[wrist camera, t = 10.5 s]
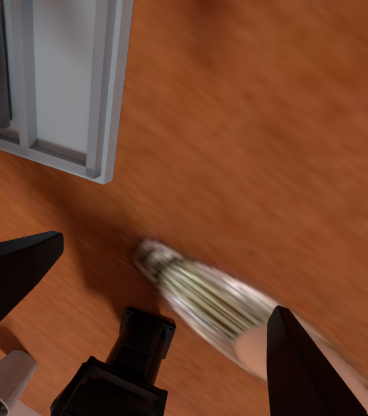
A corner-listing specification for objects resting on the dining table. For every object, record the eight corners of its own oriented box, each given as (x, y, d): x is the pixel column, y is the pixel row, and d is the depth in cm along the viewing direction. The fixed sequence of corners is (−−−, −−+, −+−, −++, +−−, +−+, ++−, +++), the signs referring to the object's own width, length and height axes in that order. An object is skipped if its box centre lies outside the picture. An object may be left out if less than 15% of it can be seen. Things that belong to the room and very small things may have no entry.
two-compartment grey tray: (112, 179, 22) (97, 188, 19) (-15, 137, 23) (-43, 140, 21) (137, -30, 15) (119, -55, 13) (-44, -72, 16) (-89, -101, 14)
